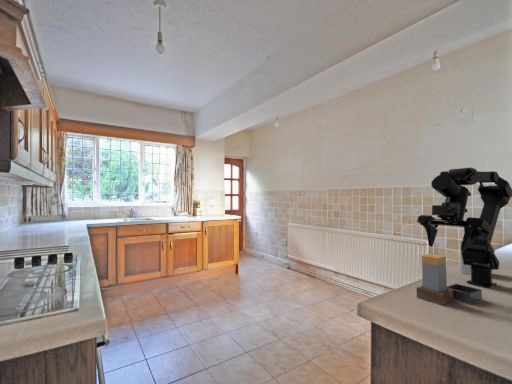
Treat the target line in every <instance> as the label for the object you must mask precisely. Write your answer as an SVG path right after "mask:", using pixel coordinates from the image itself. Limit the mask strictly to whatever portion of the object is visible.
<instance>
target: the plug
mask: <svg viewBox="0 0 512 384" xmlns="http://www.w3.org/2000/svg"><path fill="white" fill-rule="evenodd" d="M421 264H422V265H421V267H422V268H421V271H422V272H421V273H422V274H421V276H422V279H421V280H422V286H423V289H426V290H429V291H433V292H436V293H442V292H445V291H447V286H448V284H447V258H446V256H445V255H438V254H432V253H429V254H428V253H426V254H423V255H421Z"/></svg>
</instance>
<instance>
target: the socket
mask: <svg viewBox="0 0 512 384" xmlns="http://www.w3.org/2000/svg"><path fill="white" fill-rule="evenodd" d="M447 289H450V290H453V295H454V300H453V301H457V302H461V303H464V304H467V305H473V304H475V303H477V302H480V301H482V300H483V292H482V291H483V290H482V289H479V288H476V287H471V286H468V285H463V284H459V283H452V284H450V285H447Z"/></svg>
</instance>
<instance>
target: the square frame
mask: <svg viewBox="0 0 512 384" xmlns="http://www.w3.org/2000/svg"><path fill="white" fill-rule="evenodd" d="M416 298H418V299H422V300H424V301H426V302H427V301H428V302H430V303H434V304H437V305H440V306H442V305H444V304H445V305H446V304H447V303H450V302H453V301H455V300H454V295H453V290H450V289H447V291H445V292H442V293H436V292H433V291H429V290H426V289H423V285H421V286H417V287H416Z"/></svg>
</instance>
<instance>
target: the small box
mask: <svg viewBox="0 0 512 384" xmlns="http://www.w3.org/2000/svg"><path fill="white" fill-rule="evenodd" d="M462 241H463V239H462V240H460V242H459V243H460V245H459V246H461V245H462ZM460 272H461V273H462V274H467V275H471V266H470V265H464V262H463V258H462V251H461V250H460Z"/></svg>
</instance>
